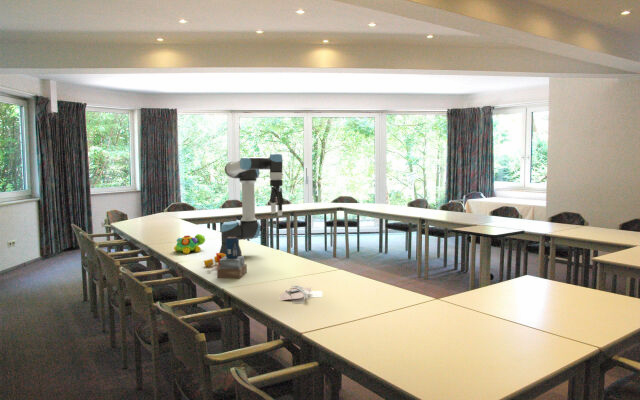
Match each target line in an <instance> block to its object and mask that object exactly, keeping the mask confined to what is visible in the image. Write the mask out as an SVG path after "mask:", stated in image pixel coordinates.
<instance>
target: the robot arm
mask: <svg viewBox="0 0 640 400" xmlns="http://www.w3.org/2000/svg"><path fill="white" fill-rule="evenodd" d="M283 162H284V161H283V154H281V153H270V154H269V156H267V157H266V156H264V157H263V156H257V157H256V156H254V157H252V156H243V157H242V156H241V158H240V159H239V160H238V161H230V162H228V163H226V164H225V166H224V172H225V175H226V176H228V177H229V178H230V179H231V178H232V179H239V182H240V183H241V200H242V201H241V206H242V207H241V209H242V212H241V215H242V218H241V219H240V222H239V221H238V220H232V221H226V222H223V223H222V224H221V230H220V231H221V233H220V235H221V246H220V249H219V252H218V253H224V254H225V255H226V239H227V237H231V236H235V237H237V239H238V256H243V255H242V249H241V246H240V243H239V242H240V241H241V240H242V241H243V240H249V239H250V240H252V239H256V238H258V237H259V236H260V233H261V224H260V221H258V219H257V218H256V207H255V203H256V202H255V183H256V182H257V179H258V178H259V177H260V170H269V179H270V180H269V186H270V188H271V189H270V197H269V202H270V209H271V210H270V213H271V214H276V211H277V217H280V216H281V217H282V216H283V205H284V198H283V197H284V196H283V190H282V189H283V188H282V186H283V185H284V184H283V180H282V179H283V176H284V173H283ZM276 205H277V207H276ZM276 208H277V209H276Z"/></svg>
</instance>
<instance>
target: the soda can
mask: <svg viewBox="0 0 640 400" xmlns="http://www.w3.org/2000/svg"><path fill="white" fill-rule="evenodd" d="M226 257H227V259H236V258H237V257H238V239H237V237H235V236H231V237H227V239H226Z"/></svg>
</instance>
